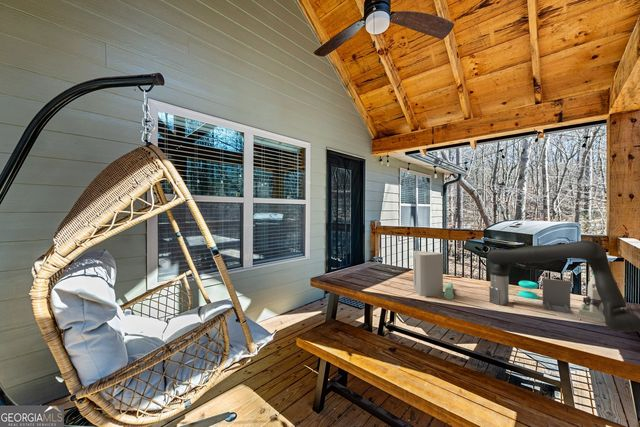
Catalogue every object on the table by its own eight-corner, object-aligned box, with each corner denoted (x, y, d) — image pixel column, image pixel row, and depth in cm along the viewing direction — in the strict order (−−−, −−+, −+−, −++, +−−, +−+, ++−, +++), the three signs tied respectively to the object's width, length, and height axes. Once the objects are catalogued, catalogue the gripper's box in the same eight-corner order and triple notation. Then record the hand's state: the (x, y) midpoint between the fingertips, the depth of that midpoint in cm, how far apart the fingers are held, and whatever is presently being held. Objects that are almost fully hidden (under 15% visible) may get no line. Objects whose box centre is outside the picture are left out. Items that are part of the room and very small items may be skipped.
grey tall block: (606, 317, 137) (606, 286, 136) (592, 315, 140) (592, 285, 139) (602, 313, 141) (602, 284, 141) (589, 311, 144) (589, 282, 144)
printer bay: (574, 316, 141) (574, 286, 141) (545, 311, 148) (544, 283, 148) (569, 309, 151) (569, 281, 151) (542, 304, 158) (542, 278, 158)
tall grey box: (408, 294, 183) (407, 253, 182) (415, 288, 194) (414, 250, 194) (437, 299, 171) (437, 256, 170) (443, 293, 183) (442, 253, 182)
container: (446, 279, 194) (445, 288, 172) (455, 283, 192) (455, 293, 170) (443, 287, 195) (442, 296, 173) (451, 291, 193) (451, 301, 171)
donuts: (515, 279, 177) (532, 280, 175) (515, 294, 177) (532, 295, 175) (523, 284, 167) (541, 284, 165) (523, 299, 167) (541, 300, 165)
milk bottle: (609, 309, 149) (609, 274, 149) (590, 307, 153) (590, 272, 153) (603, 305, 156) (603, 271, 155) (585, 302, 160) (585, 270, 160)
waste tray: (615, 324, 131) (615, 317, 131) (578, 316, 141) (578, 309, 141) (616, 316, 140) (616, 310, 140) (582, 309, 150) (582, 303, 150)
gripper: (632, 304, 120) (619, 294, 134) (588, 299, 128) (580, 290, 142) (632, 320, 120) (619, 309, 134) (588, 314, 128) (580, 304, 142)
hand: (599, 299), depth 138 cm, fingers open, 8 cm apart
